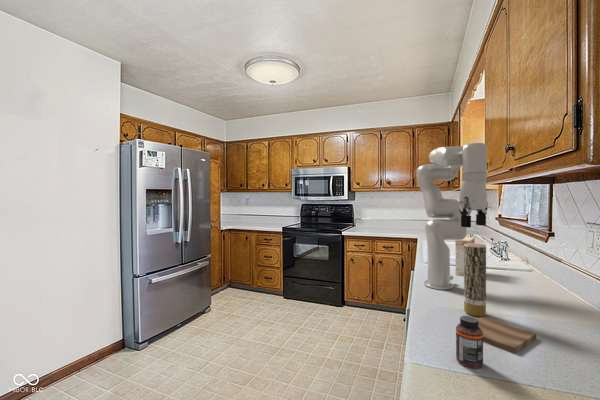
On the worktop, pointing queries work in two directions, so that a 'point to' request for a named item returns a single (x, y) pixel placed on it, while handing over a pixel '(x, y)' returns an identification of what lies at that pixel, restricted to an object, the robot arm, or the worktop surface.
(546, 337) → the worktop surface
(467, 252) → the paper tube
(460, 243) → the coffeecake box
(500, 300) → the worktop surface
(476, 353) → the supplement bottle
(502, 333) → the board
